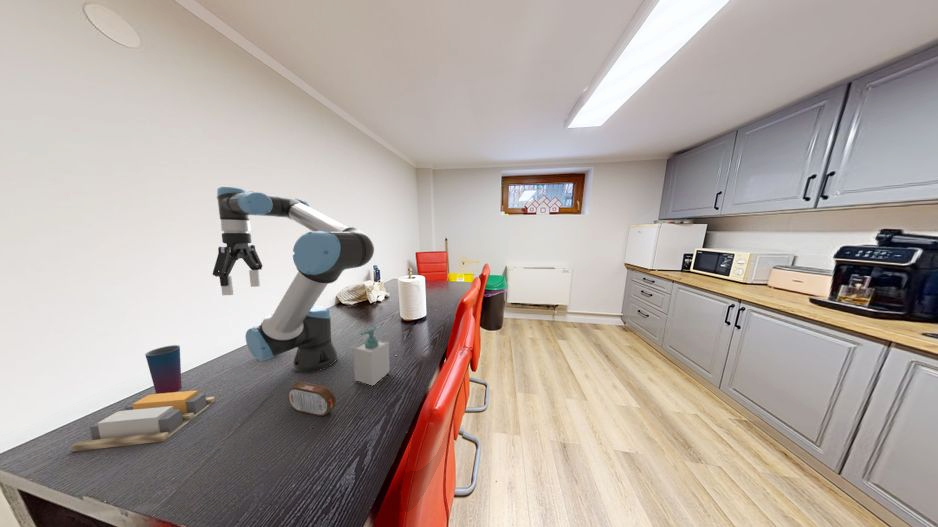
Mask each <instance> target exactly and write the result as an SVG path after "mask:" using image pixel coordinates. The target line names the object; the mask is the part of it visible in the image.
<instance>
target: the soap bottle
mask: <svg viewBox="0 0 938 527" xmlns="http://www.w3.org/2000/svg"><path fill="white" fill-rule="evenodd" d="M376 329H377V327H376V326H372V327H370V328H367V329H366V330H364V331H361V332H360V335H361V336H362V335H369V336H368V337H367V338H366V341H363V342H361V343H360V344H358V345H356V346H354V347H353V367H354V381H355V380H357V381H361V382H363V383H366V384H369V385H372V386H373V385H375V384H376V383H377V382H378V381H379V380H380V379H381V378H382V377H384V376H385V375H386V374H387V373H388V372H389V371H390V342H389V341H386V340H385V341H384V340H380V339H377V338H376V336H375V335H374V334H375V332H374V330H376ZM390 372H391V371H390ZM357 381H356V382H357ZM363 383H362V384H363ZM366 384H365V385H366ZM377 384H378V383H377ZM377 384H376V385H377ZM369 385H368V386H369ZM376 385H375V386H376ZM372 386H371V387H372Z"/></svg>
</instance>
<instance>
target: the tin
mask: <svg viewBox="0 0 938 527" xmlns="http://www.w3.org/2000/svg"><path fill="white" fill-rule="evenodd" d="M335 397H336V396H335V394H334V393H333V391H332V390H331V389H330V388H328V387H326V386H324V385H319V384H314V383H310V382H304V381H299V382H297V383H296V384H294V385H293V386H292V387H291V388H290V389H289V390H288V391H287V400H288V402H289V405H290V406H291V407H292V408H293V410H296V411H298V412H300V413H306V414H309V415H313V416H318V417H324V416H326V415H327V414H328V413H330V412H331V411H332V410H333V409H334V408H335V407H336V402H337V401H336V398H335Z"/></svg>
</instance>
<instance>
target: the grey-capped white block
mask: <svg viewBox="0 0 938 527" xmlns="http://www.w3.org/2000/svg"><path fill="white" fill-rule="evenodd" d="M182 423H183V418H182V411H181V409H180V410H174V409H173V406H168V407H157V408H147V409H136V410H126V409H125V410H119V411H116V412H115V413H112V414H111V415H109V416H106V417H104V418H102V419H101V420H99V421H97V422H96V423H94V424H92V425H91V426H89V430H90V435H91V440H98V439H107V438H117V437H126V436H135V435H145V434H154V433H164V432H168V433H171V432H172V431H173V430H174V429H176V428H177V427H178V426H180V425H181V424H182Z"/></svg>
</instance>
